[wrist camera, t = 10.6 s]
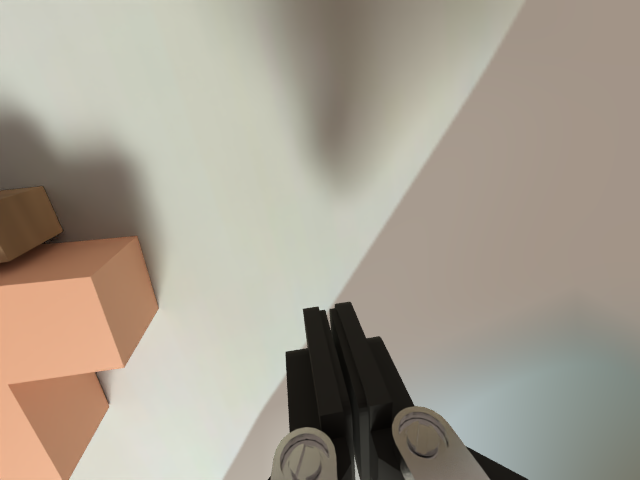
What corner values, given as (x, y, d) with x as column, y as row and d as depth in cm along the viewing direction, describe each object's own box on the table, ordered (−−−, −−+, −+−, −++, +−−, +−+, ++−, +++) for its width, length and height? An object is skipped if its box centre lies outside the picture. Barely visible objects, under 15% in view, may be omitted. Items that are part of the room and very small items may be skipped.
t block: (-55, 432, 16) (-152, 526, 12) (-180, 263, 12) (-374, 325, 8) (183, 394, 17) (160, 467, 14) (137, 235, 14) (90, 276, 10)
